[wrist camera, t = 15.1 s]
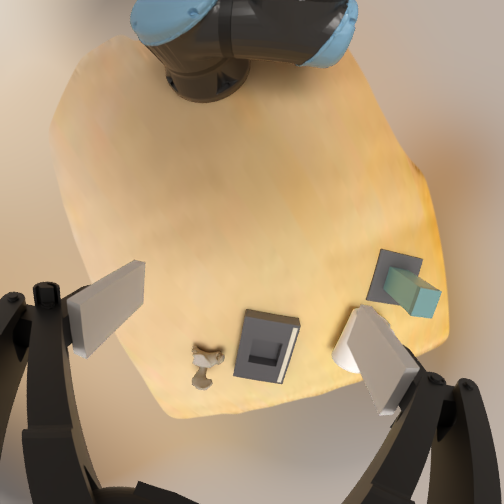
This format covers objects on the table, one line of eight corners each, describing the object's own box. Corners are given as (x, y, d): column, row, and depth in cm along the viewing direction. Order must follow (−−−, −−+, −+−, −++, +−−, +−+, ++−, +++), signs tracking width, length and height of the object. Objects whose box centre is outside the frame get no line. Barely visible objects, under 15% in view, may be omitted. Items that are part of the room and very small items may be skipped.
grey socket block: (246, 309, 50) (245, 316, 46) (299, 318, 49) (300, 326, 46) (234, 367, 53) (232, 376, 50) (281, 375, 53) (282, 384, 49)
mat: (380, 248, 46) (381, 249, 45) (421, 258, 45) (422, 259, 45) (366, 299, 48) (366, 300, 47) (407, 305, 48) (407, 306, 47)
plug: (382, 289, 47) (410, 315, 35) (389, 266, 46) (420, 287, 34) (401, 292, 47) (431, 318, 35) (408, 270, 46) (441, 291, 34)
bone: (204, 330, 49) (213, 376, 42) (227, 340, 53) (239, 382, 46) (177, 351, 52) (183, 394, 44) (201, 359, 56) (209, 399, 48)
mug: (327, 346, 51) (335, 370, 43) (348, 303, 48) (360, 322, 41) (375, 357, 51) (387, 378, 43) (396, 317, 48) (413, 335, 41)
